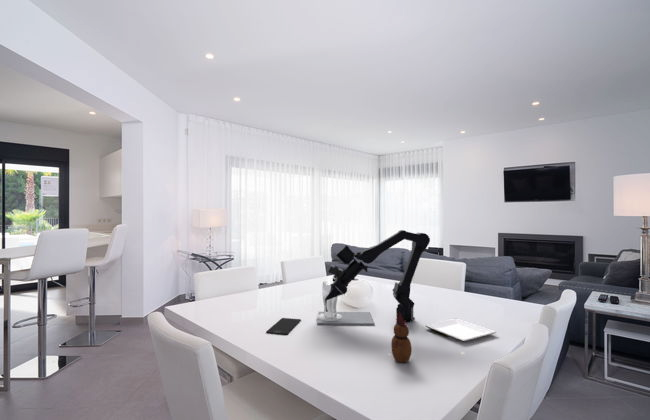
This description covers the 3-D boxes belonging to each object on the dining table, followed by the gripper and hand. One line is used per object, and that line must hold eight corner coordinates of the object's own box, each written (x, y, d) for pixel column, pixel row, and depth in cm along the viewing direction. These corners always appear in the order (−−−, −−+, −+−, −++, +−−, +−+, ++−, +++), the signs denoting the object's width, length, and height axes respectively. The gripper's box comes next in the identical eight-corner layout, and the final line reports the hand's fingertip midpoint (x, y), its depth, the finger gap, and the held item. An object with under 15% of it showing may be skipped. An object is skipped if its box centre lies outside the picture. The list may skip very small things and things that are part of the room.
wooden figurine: (389, 355, 104) (389, 309, 104) (406, 355, 105) (406, 309, 105) (395, 365, 97) (395, 315, 98) (413, 364, 98) (413, 315, 98)
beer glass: (330, 320, 137) (330, 284, 137) (319, 316, 142) (318, 282, 142) (341, 316, 142) (341, 282, 142) (330, 313, 147) (329, 280, 147)
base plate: (370, 313, 149) (370, 311, 149) (374, 325, 133) (374, 322, 133) (318, 313, 150) (318, 311, 150) (316, 324, 134) (316, 322, 134)
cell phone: (265, 334, 124) (265, 331, 124) (282, 319, 142) (282, 317, 142) (287, 336, 122) (287, 333, 122) (301, 321, 140) (301, 319, 140)
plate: (463, 346, 113) (463, 340, 113) (424, 329, 129) (424, 324, 129) (496, 336, 122) (496, 331, 122) (456, 322, 138) (456, 317, 138)
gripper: (338, 256, 152) (314, 279, 152) (339, 261, 133) (312, 288, 133) (354, 272, 151) (331, 296, 151) (358, 280, 133) (331, 307, 133)
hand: (326, 296), depth 142 cm, fingers open, 9 cm apart
